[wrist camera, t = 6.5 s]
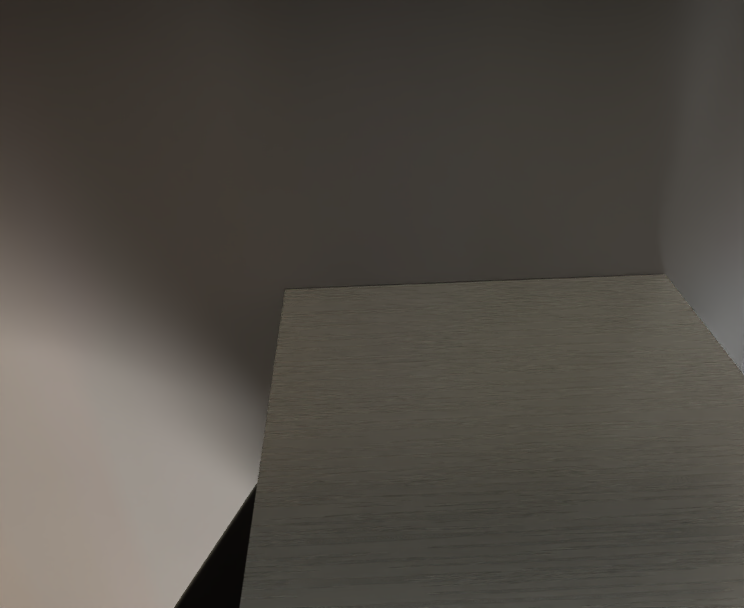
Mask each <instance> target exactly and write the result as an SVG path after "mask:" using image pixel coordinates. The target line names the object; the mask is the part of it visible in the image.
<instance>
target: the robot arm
mask: <svg viewBox="0 0 744 608" xmlns="http://www.w3.org/2000/svg"><path fill="white" fill-rule="evenodd" d="M256 489H257V484H256V485H255V487H254V488H253V490H252V491H251V493H250V494H249V496H248V497H247V499H246V500H245V502H244V503H243V505H242V506H241V508H240V509H239V511H238V512H237V514H236V515H235V517H234V518H233V520H232V521H231V523H230V524H229V526H228V527H227V529H226V530H225V532H224V533H223V535H222V536H221V538H220V539H219V541H218V542H217V544H216V545H215V547H214V548H213V550H212V551H211V553H210V554H209V556H208V557H207V559H206V560H205V562H204V563H203V565H202V566H201V568H200V569H199V571H198V572H197V574H196V575H195V577H194V578H193V580H192V581H191V583H190V584H189V586H188V587H187V589H186V590H185V592H184V593H183V595H182V596H181V598H180V599H179V601H178V602H177V604H176V605H175V607H174V608H240V601H241V594H242V587H243V580H244V573H245V566H246V559H247V552H248V545H249V538H250V531H251V524H252V517H253V510H254V503H255V496H256Z"/></svg>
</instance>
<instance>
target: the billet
mask: <svg viewBox="0 0 744 608" xmlns="http://www.w3.org/2000/svg"><path fill="white" fill-rule="evenodd" d="M240 608H744V375H743V373H742V372H741V371H740V369H739V368H738V367H737V366H736V364H735V363H734V362H733V361H732V359H731V358H730V357H729V355H728V354H727V353H726V352H725V350H724V349H723V348H722V346H721V345H720V344H719V343H718V341H717V340H716V339H715V338H714V336H713V335H712V334H711V332H710V331H709V330H708V329H707V327H706V326H705V325H704V323H703V322H702V321H701V320H700V318H699V317H698V316H697V314H696V313H695V312H694V311H693V309H692V308H691V307H690V306H689V304H688V303H687V302H686V300H685V299H684V298H683V297H682V295H681V294H680V293H679V291H678V290H677V289H676V288H675V286H674V285H673V284H672V283H671V281H670V280H669V279H668V277H667V276H666V275H665V274H657V275H633V276H608V277H583V278H558V279H533V280H508V281H483V282H459V283H434V284H409V285H384V286H359V287H334V288H309V289H285V293H284V300H283V307H282V314H281V321H280V328H279V335H278V342H277V349H276V356H275V363H274V370H273V377H272V384H271V391H270V398H269V405H268V412H267V419H266V426H265V433H264V440H263V447H262V454H261V461H260V468H259V475H258V482H257V489H256V496H255V503H254V510H253V517H252V524H251V531H250V538H249V545H248V552H247V559H246V566H245V573H244V580H243V587H242V594H241V601H240Z"/></svg>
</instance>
